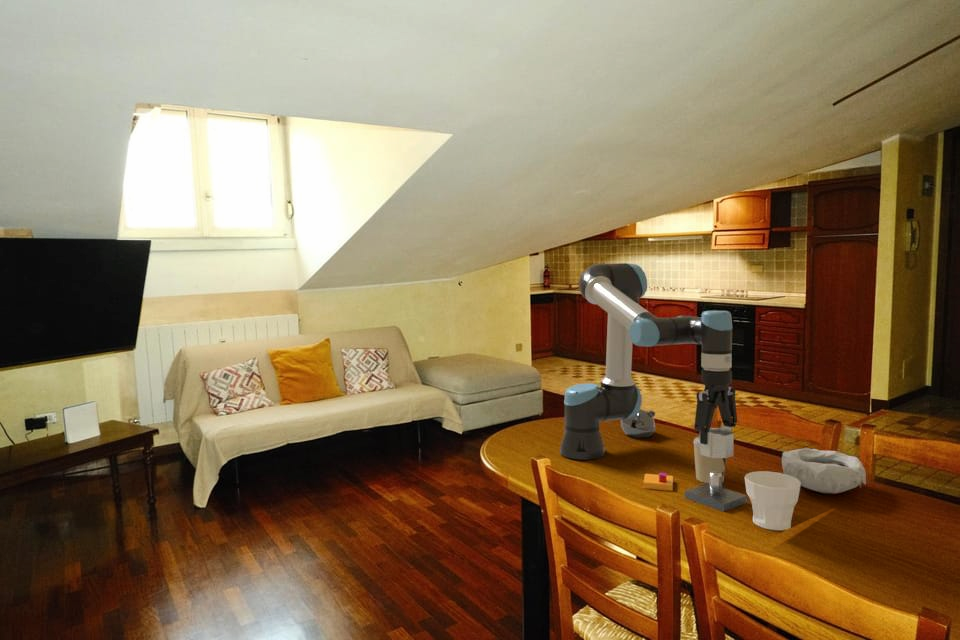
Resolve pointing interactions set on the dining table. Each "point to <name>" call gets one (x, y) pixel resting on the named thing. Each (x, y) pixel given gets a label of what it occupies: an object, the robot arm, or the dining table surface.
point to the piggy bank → (639, 424)
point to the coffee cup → (706, 464)
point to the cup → (772, 498)
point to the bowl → (824, 470)
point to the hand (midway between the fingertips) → (716, 452)
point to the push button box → (658, 482)
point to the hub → (721, 443)
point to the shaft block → (716, 494)
